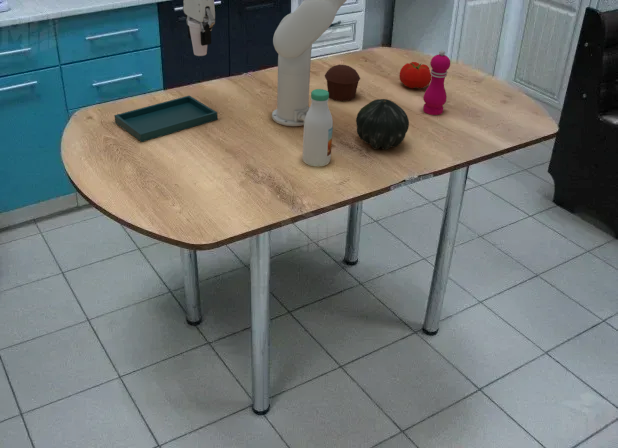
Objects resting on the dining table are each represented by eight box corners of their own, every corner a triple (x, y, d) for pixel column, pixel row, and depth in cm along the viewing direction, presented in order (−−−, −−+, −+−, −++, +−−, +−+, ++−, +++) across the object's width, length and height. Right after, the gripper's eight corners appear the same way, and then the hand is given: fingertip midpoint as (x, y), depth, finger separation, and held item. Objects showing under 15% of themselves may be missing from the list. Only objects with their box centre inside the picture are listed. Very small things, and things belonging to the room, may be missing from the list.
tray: (217, 119, 202) (217, 112, 201) (141, 142, 188) (140, 134, 187) (189, 102, 212) (189, 95, 210) (115, 122, 198) (114, 115, 196)
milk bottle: (321, 170, 179) (325, 100, 168) (296, 162, 182) (299, 92, 171) (335, 159, 184) (340, 90, 173) (311, 151, 188) (315, 83, 177)
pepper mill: (419, 106, 217) (428, 46, 206) (441, 106, 217) (451, 46, 206) (424, 115, 211) (433, 54, 200) (446, 116, 211) (457, 54, 200)
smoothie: (213, 51, 201) (211, 3, 193) (208, 58, 195) (206, 9, 188) (192, 49, 201) (190, 1, 193) (186, 56, 196) (183, 8, 188)
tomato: (431, 92, 227) (435, 71, 223) (399, 91, 227) (402, 69, 223) (427, 80, 236) (430, 60, 232) (396, 79, 236) (399, 58, 232)
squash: (384, 108, 201) (367, 81, 188) (424, 127, 193) (408, 99, 180) (357, 146, 200) (338, 121, 188) (396, 166, 192) (378, 142, 179)
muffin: (364, 95, 223) (367, 66, 217) (348, 105, 215) (350, 76, 209) (334, 86, 228) (336, 58, 222) (316, 96, 220) (318, 67, 214)
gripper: (225, -17, 183) (226, 47, 193) (192, -31, 194) (195, 31, 204) (201, -14, 179) (204, 52, 189) (169, -28, 189) (173, 35, 199)
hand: (199, 40), depth 196 cm, fingers closed on smoothie, 6 cm apart
